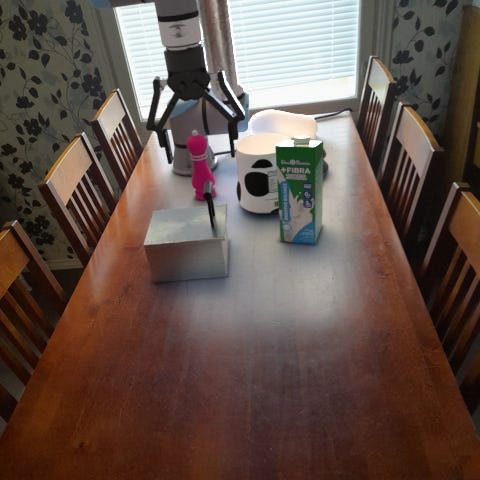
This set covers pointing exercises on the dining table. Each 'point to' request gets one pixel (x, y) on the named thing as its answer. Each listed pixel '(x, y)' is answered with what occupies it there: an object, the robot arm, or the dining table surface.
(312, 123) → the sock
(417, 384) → the dining table surface
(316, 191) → the milk carton
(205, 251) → the metal tin
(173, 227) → the box lid
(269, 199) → the milk container
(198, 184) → the pepper mill
